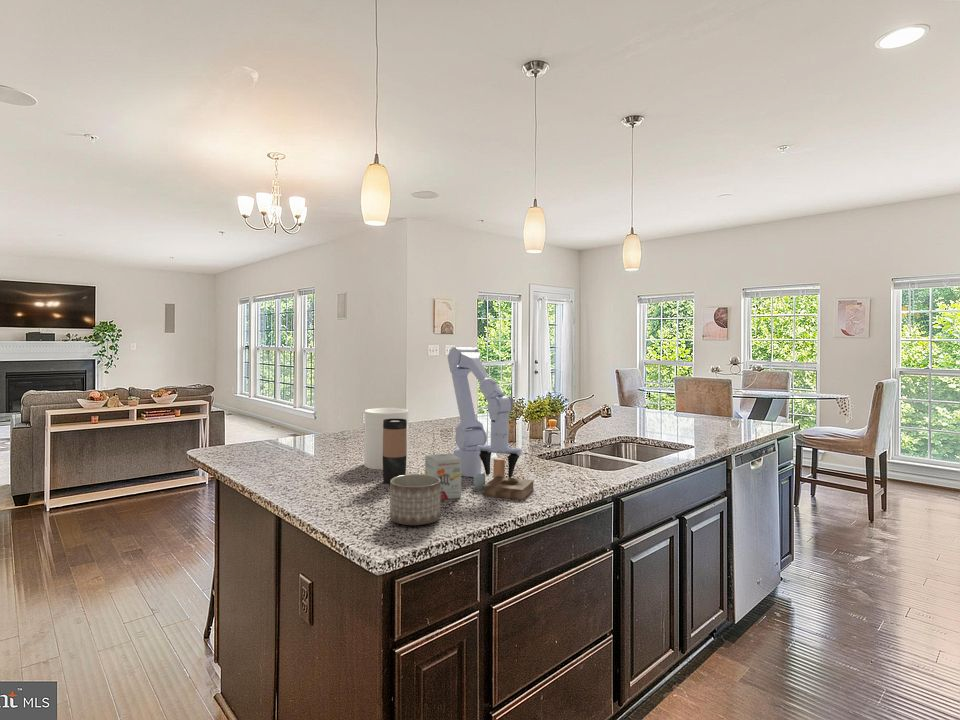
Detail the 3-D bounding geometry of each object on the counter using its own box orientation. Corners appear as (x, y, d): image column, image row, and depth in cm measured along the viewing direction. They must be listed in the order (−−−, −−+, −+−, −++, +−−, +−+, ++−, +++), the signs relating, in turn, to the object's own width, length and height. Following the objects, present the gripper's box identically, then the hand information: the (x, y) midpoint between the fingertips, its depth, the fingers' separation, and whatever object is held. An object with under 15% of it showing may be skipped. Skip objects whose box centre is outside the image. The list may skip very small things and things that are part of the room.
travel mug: (410, 480, 176) (411, 419, 175) (397, 485, 169) (398, 422, 168) (391, 477, 179) (391, 417, 178) (377, 482, 172) (378, 420, 171)
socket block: (483, 495, 160) (483, 485, 159) (496, 485, 171) (496, 476, 171) (522, 500, 155) (522, 489, 155) (533, 489, 166) (533, 480, 166)
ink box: (434, 501, 153) (435, 460, 153) (423, 493, 161) (424, 454, 160) (462, 497, 157) (462, 457, 157) (450, 490, 165) (450, 452, 164)
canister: (414, 461, 204) (414, 408, 203) (398, 471, 188) (399, 414, 188) (375, 458, 207) (375, 407, 207) (356, 467, 192) (356, 412, 191)
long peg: (491, 484, 172) (492, 460, 171) (495, 482, 175) (495, 457, 175) (502, 486, 170) (502, 461, 170) (505, 483, 174) (506, 458, 173)
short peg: (471, 489, 167) (472, 476, 166) (476, 486, 170) (476, 473, 170) (482, 490, 165) (482, 477, 165) (486, 487, 169) (487, 474, 168)
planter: (388, 514, 141) (388, 475, 141) (436, 511, 144) (436, 473, 144) (391, 530, 129) (392, 487, 128) (443, 527, 132) (444, 485, 131)
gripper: (474, 433, 171) (473, 476, 171) (517, 437, 166) (517, 480, 166) (481, 430, 178) (481, 471, 178) (524, 433, 172) (523, 475, 173)
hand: (499, 475), depth 173 cm, fingers open, 7 cm apart
